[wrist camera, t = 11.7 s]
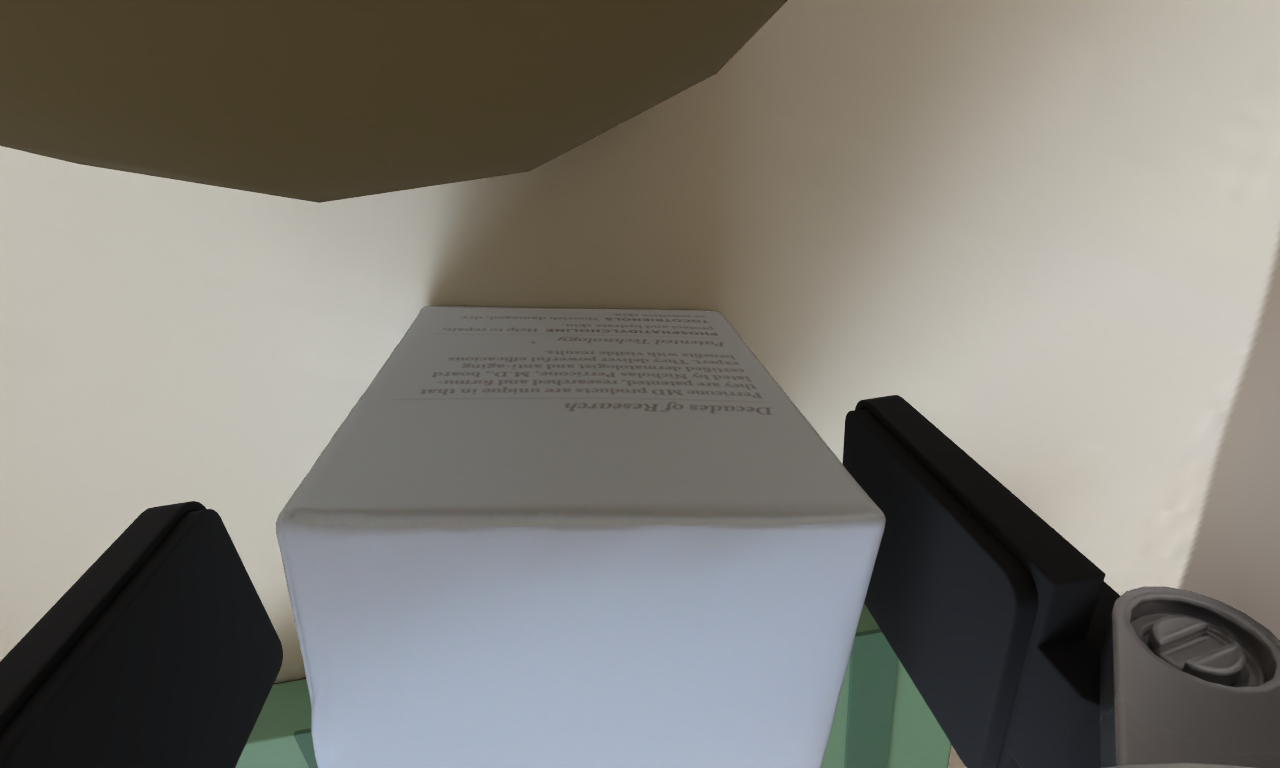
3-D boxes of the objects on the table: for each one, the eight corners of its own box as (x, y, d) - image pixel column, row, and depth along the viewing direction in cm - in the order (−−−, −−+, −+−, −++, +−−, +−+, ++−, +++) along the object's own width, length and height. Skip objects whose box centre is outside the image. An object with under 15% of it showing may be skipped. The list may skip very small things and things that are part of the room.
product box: (693, 545, 15) (802, 880, 9) (436, 551, 14) (336, 931, 8) (724, 303, 13) (906, 512, 6) (416, 294, 12) (247, 524, 5)
